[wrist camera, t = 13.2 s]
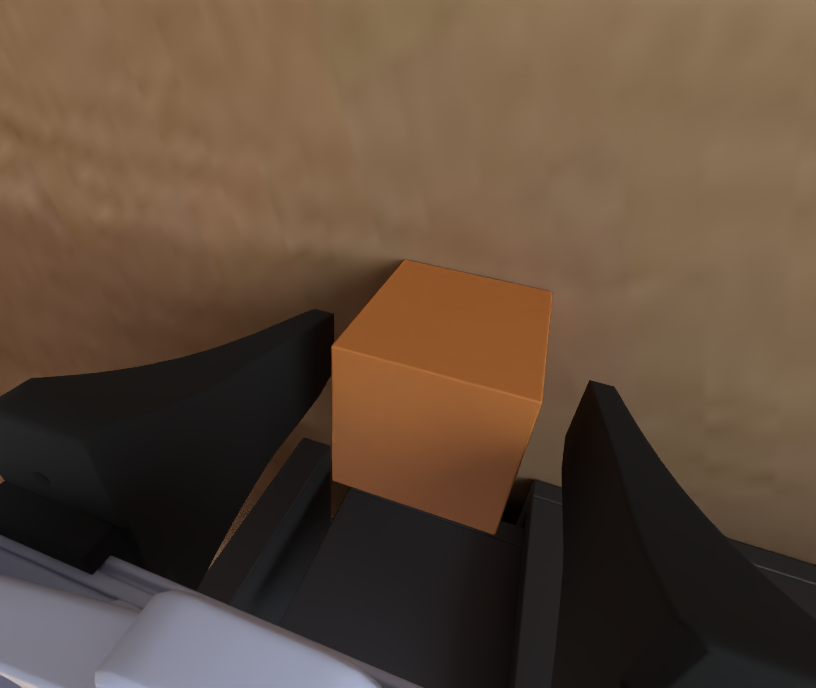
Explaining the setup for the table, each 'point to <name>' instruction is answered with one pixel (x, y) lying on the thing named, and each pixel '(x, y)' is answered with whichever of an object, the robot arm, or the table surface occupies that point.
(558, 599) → the charcoal grey pedestal
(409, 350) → the block
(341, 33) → the table surface
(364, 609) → the dark grey drawer
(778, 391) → the table surface
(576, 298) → the table surface
